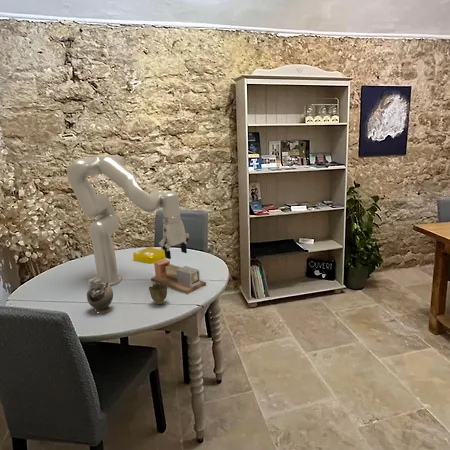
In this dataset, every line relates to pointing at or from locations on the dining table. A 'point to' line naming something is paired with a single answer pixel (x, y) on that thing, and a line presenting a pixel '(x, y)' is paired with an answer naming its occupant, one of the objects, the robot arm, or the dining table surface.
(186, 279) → the metal sleeve
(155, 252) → the element tile
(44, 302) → the dining table surface
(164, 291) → the cup
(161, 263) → the terracotta socket
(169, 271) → the tube
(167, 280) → the walnut board
